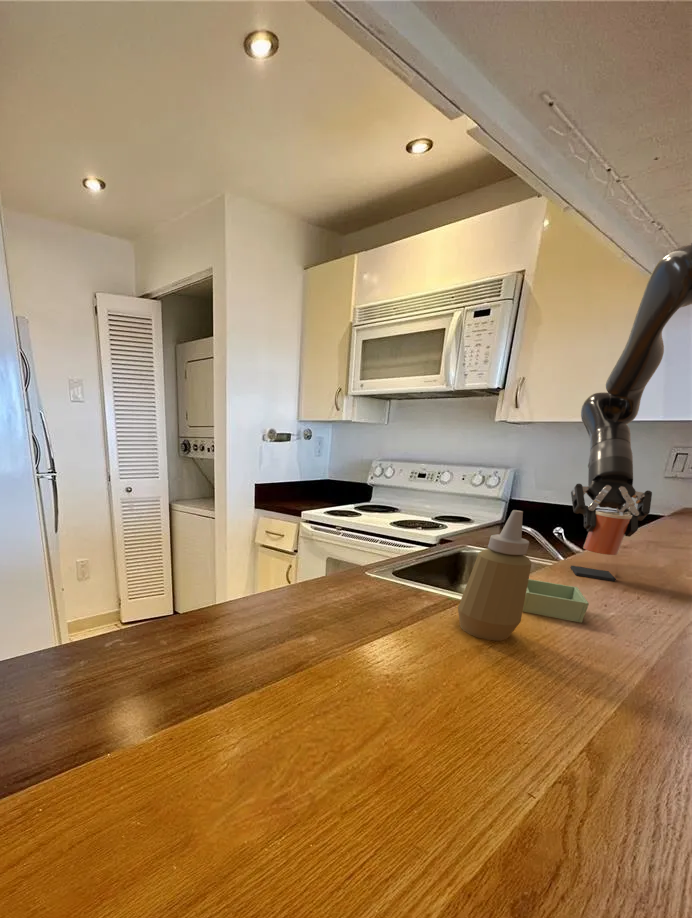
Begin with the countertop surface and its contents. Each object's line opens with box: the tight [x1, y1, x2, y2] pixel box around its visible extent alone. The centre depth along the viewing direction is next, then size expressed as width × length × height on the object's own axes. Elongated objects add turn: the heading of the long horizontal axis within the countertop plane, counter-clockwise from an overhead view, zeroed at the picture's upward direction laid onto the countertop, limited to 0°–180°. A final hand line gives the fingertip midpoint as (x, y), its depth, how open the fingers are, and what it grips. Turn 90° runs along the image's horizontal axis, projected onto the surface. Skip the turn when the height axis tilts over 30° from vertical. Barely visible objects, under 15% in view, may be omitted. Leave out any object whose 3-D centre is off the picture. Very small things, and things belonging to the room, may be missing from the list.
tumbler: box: [582, 509, 633, 556], centre depth 97 cm, size 6×6×8 cm
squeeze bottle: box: [457, 509, 532, 642], centre depth 64 cm, size 8×8×18 cm
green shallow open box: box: [522, 578, 590, 623], centre depth 77 cm, size 8×8×4 cm
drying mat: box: [570, 565, 617, 582], centre depth 101 cm, size 7×6×1 cm
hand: (610, 531), depth 96 cm, fingers closed on tumbler, 6 cm apart
